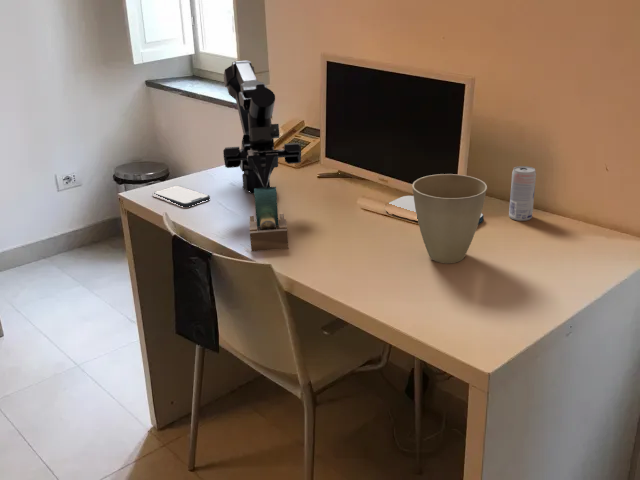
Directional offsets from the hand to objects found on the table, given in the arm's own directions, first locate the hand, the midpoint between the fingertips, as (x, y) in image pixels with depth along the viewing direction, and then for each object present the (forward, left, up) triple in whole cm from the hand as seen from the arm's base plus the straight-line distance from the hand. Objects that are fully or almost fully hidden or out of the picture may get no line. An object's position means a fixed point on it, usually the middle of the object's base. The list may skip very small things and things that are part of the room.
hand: (265, 186), depth 164 cm
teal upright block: (+3, +6, -9) cm, 11 cm away
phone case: (+11, -29, -10) cm, 33 cm away
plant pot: (-22, +41, -9) cm, 47 cm away
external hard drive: (-35, +21, -10) cm, 42 cm away
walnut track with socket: (+4, +8, -9) cm, 13 cm away
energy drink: (-51, +34, -9) cm, 62 cm away
